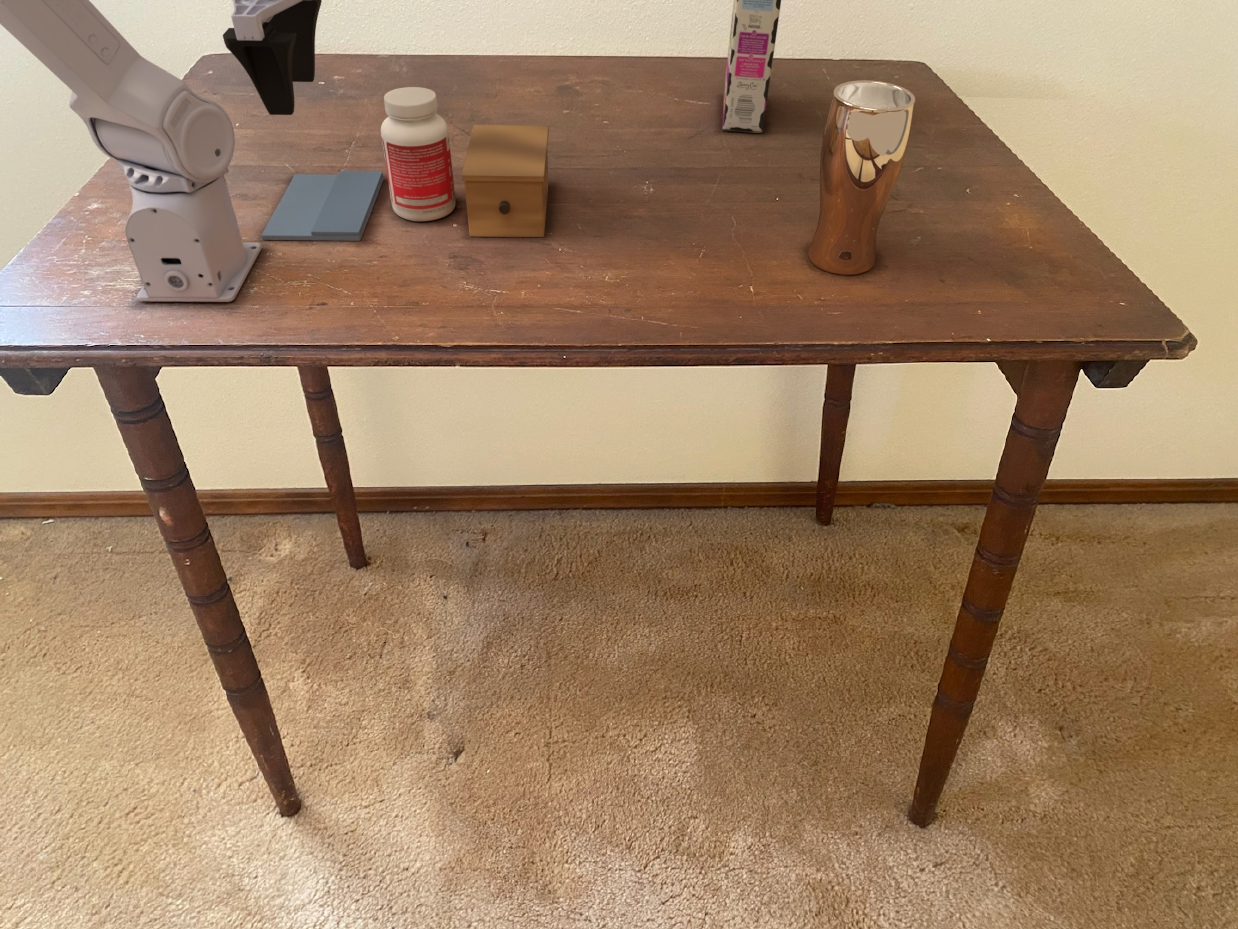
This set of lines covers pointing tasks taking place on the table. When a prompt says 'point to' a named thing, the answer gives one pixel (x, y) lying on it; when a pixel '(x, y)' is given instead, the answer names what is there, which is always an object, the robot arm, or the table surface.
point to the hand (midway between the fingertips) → (292, 96)
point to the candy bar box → (749, 64)
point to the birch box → (506, 180)
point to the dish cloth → (325, 207)
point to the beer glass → (859, 171)
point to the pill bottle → (417, 155)
